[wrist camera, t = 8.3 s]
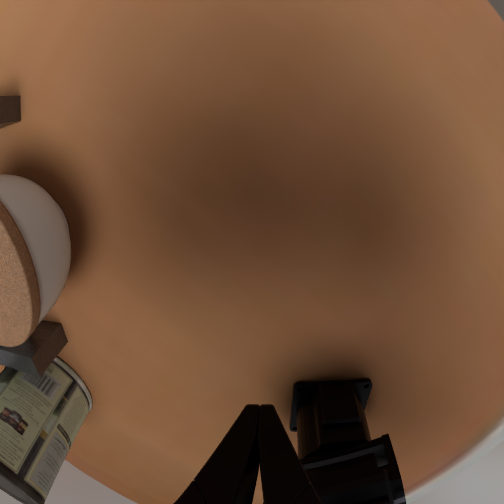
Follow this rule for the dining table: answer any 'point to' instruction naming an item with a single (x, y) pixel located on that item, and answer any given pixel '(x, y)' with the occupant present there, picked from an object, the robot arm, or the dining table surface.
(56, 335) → the box
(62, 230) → the lidded jar
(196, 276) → the dining table surface
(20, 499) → the coffee can
